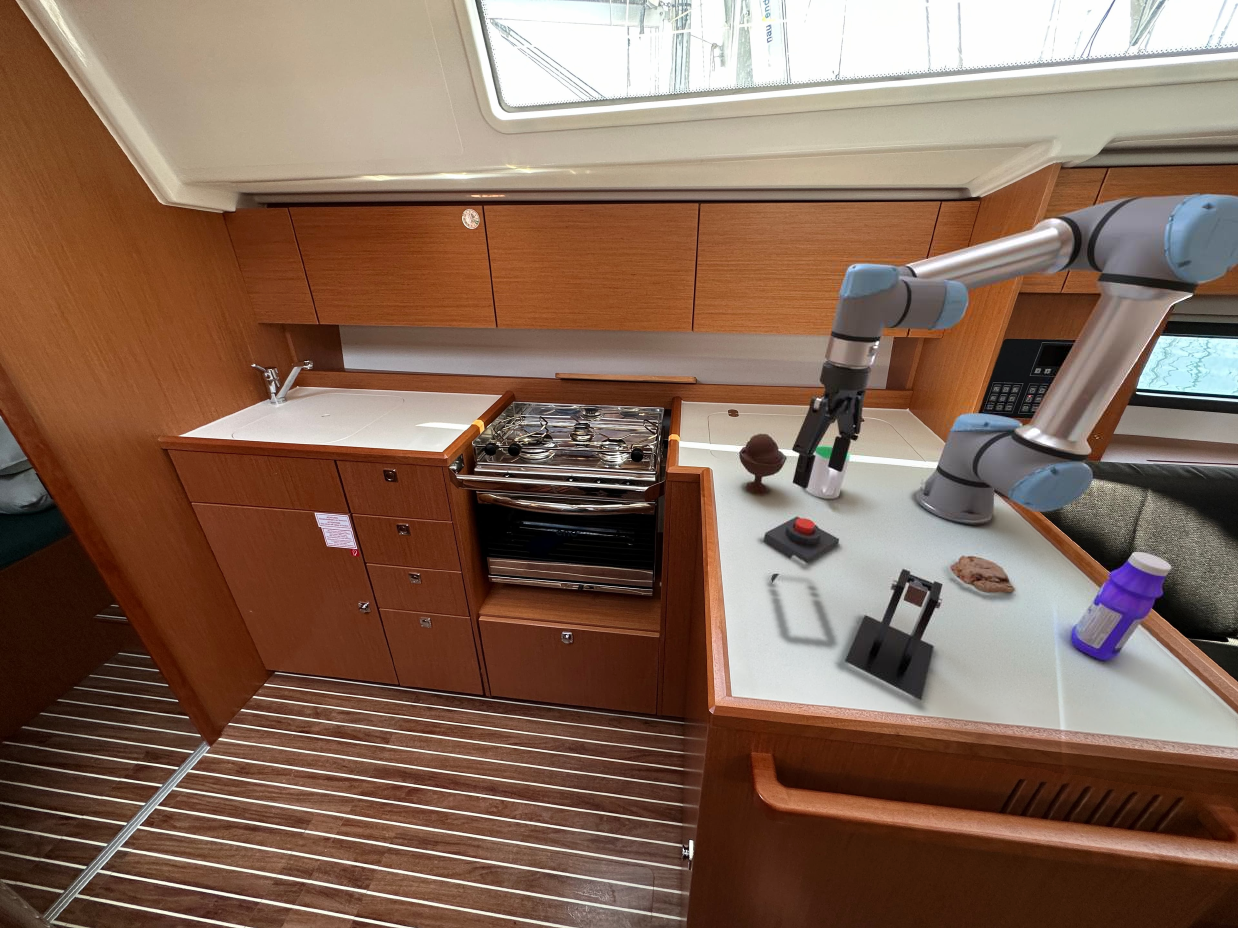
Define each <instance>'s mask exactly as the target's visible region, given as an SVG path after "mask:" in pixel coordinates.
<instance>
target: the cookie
mask: <svg viewBox="0 0 1238 928" xmlns="http://www.w3.org/2000/svg"><path fill="white" fill-rule="evenodd" d="M950 570H951V572H952V574H954V576H955V577H957V578H958V579H959V580H960V581H962V582H963V583H964V584H965V585H972V586H973V587H974V589H976V590H979V591H981V592H984V593H993V594H994V593H1007V594H1012V593H1013V592H1014V591H1015V589H1016V588H1015V587H1014V585H1012V584H1011V583H1009V582H1010V578H1009V576H1008V574H1007V573H1006V571H1005V570H1004V568H1003V567H1002V566H1000V565H999V564H998V563H996V562H994V561H991V560H988V559H986V558H983V557H979V556H974V555H967V556H965V555H962V556H960V557H959V558H958V561H955V562H954V564H951V565H950Z"/></svg>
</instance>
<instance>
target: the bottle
mask: <svg viewBox="0 0 1238 928" xmlns="http://www.w3.org/2000/svg"><path fill="white" fill-rule="evenodd" d="M1171 570H1172V566H1171V564H1170V563H1169V562H1168V561H1166V560H1165V559H1163V558H1160V557H1159V556H1157V555H1153V554H1151V553H1147V552H1142V551H1134V552H1132V553H1131V555H1130V556H1129V558H1128V559H1127V560H1126V562H1125V563H1124V564H1123V565H1121V566H1120V567H1119V568H1117V569H1115V570H1112V571H1110V572H1109V574H1108V577H1109V579H1108V580H1106V581H1104V583H1102V585H1101V587H1099V589H1098V591H1097V594H1096V596H1095V597H1094V598H1093V600H1092V602H1091V603H1090V605H1089V606H1088V607H1087V609H1086V610H1085V612H1084V613H1083V614H1082V616H1081V617H1080V618H1079V620H1078V622H1077V623H1076V624H1075V625H1074V626H1073V627H1072V630H1071V634H1070V641H1071V643H1072V645H1073V646H1074V647H1075V648H1077V649H1078V650H1079V651H1081V652H1083V653H1085V654H1087V655H1089V656H1090V657H1093V658H1096V659H1098V660H1101V661H1110V660H1112V659H1115V658H1116V657H1117V656H1118V655H1119V654H1120V653H1121V651H1122V649H1123V647H1124V646H1125V645H1126V644H1127V642H1128V641H1129V640H1130V638H1131V636H1132V635H1133V634H1134V632H1135V631H1136V629H1137V628H1138V627H1139V626H1140V624H1141V623H1142V622H1143V620H1144V619H1145V618H1146V617H1147V616H1148V615H1149V614H1150V612H1151V610H1152V609H1153V606H1154V604H1155V600H1156V599H1157V598H1160V597H1162V596H1163V594H1164V591H1163V583H1164V581H1165V579H1166V578H1167V577H1166V576H1167V575H1168V574H1169V572H1170V571H1171Z"/></svg>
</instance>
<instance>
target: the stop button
mask: <svg viewBox="0 0 1238 928" xmlns="http://www.w3.org/2000/svg"><path fill="white" fill-rule="evenodd" d="M815 525H816V524H815V522H814V521H812V520H811V519H809V518H805V517H799V519H797V520H796V524H795V528H794V529H795V530H796V531H797V532H799V533H801V534H805V535H811V534H813V531H814V527H815Z"/></svg>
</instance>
